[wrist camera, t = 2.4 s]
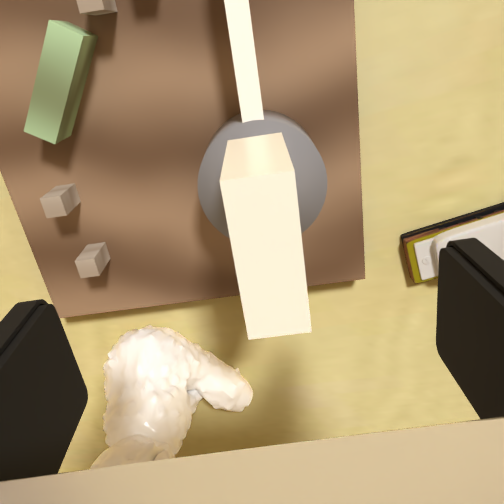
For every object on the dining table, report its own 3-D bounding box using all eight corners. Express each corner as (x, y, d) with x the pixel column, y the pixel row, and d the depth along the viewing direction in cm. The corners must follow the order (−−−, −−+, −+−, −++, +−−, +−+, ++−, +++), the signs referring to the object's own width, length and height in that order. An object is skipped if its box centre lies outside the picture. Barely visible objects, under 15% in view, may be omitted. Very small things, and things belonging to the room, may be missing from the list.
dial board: (-67, -50, 20) (-127, -66, 17) (341, -123, 19) (359, -155, 16) (68, 304, 28) (44, 338, 25) (359, 266, 27) (374, 297, 24)
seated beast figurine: (137, 430, 33) (81, 625, 22) (69, 342, 29) (-37, 522, 18) (256, 388, 31) (260, 577, 20) (199, 289, 28) (167, 453, 17)
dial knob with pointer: (321, 213, 23) (369, 330, 14) (215, 227, 24) (193, 351, 14) (296, -87, 18) (348, -222, 8) (158, -63, 18) (62, -168, 9)
